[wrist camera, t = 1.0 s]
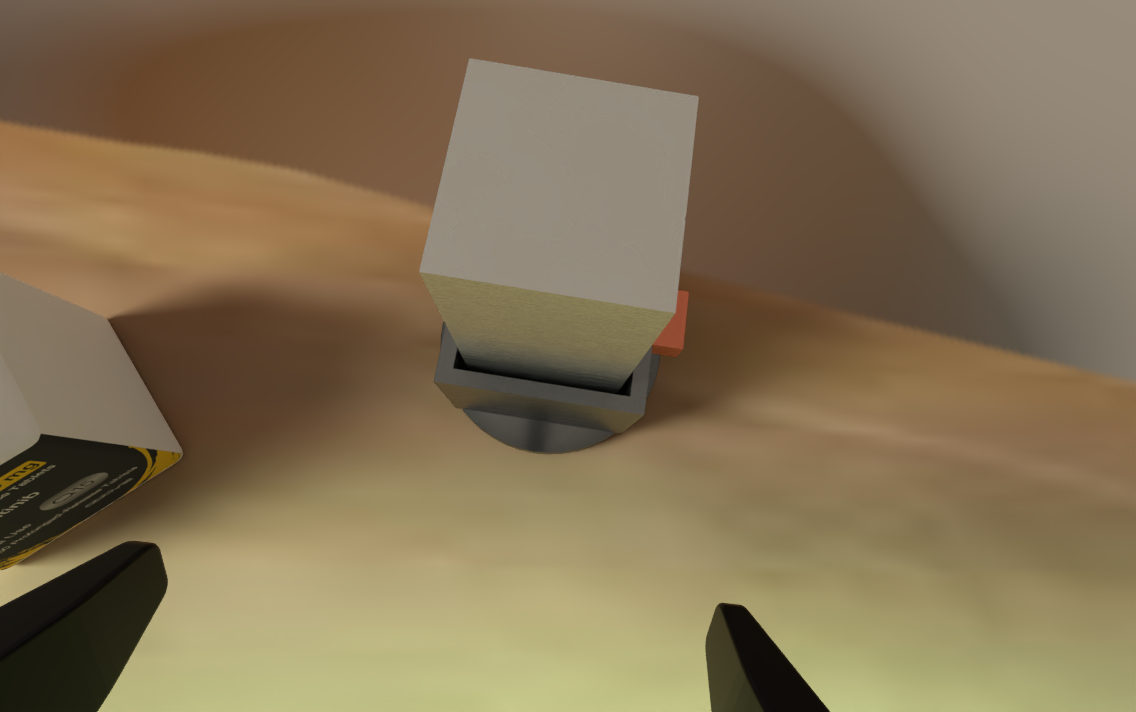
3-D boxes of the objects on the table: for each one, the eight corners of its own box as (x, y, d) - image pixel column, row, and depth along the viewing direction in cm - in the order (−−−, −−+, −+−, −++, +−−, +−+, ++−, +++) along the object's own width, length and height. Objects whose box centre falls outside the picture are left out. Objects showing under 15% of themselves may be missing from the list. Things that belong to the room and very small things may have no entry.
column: (604, 411, 23) (677, 316, 11) (478, 392, 22) (415, 273, 11) (620, 293, 24) (701, 95, 12) (501, 274, 24) (467, 55, 12)
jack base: (643, 470, 23) (678, 459, 17) (423, 435, 23) (385, 413, 17) (666, 266, 25) (704, 198, 20) (466, 234, 25) (446, 156, 19)
